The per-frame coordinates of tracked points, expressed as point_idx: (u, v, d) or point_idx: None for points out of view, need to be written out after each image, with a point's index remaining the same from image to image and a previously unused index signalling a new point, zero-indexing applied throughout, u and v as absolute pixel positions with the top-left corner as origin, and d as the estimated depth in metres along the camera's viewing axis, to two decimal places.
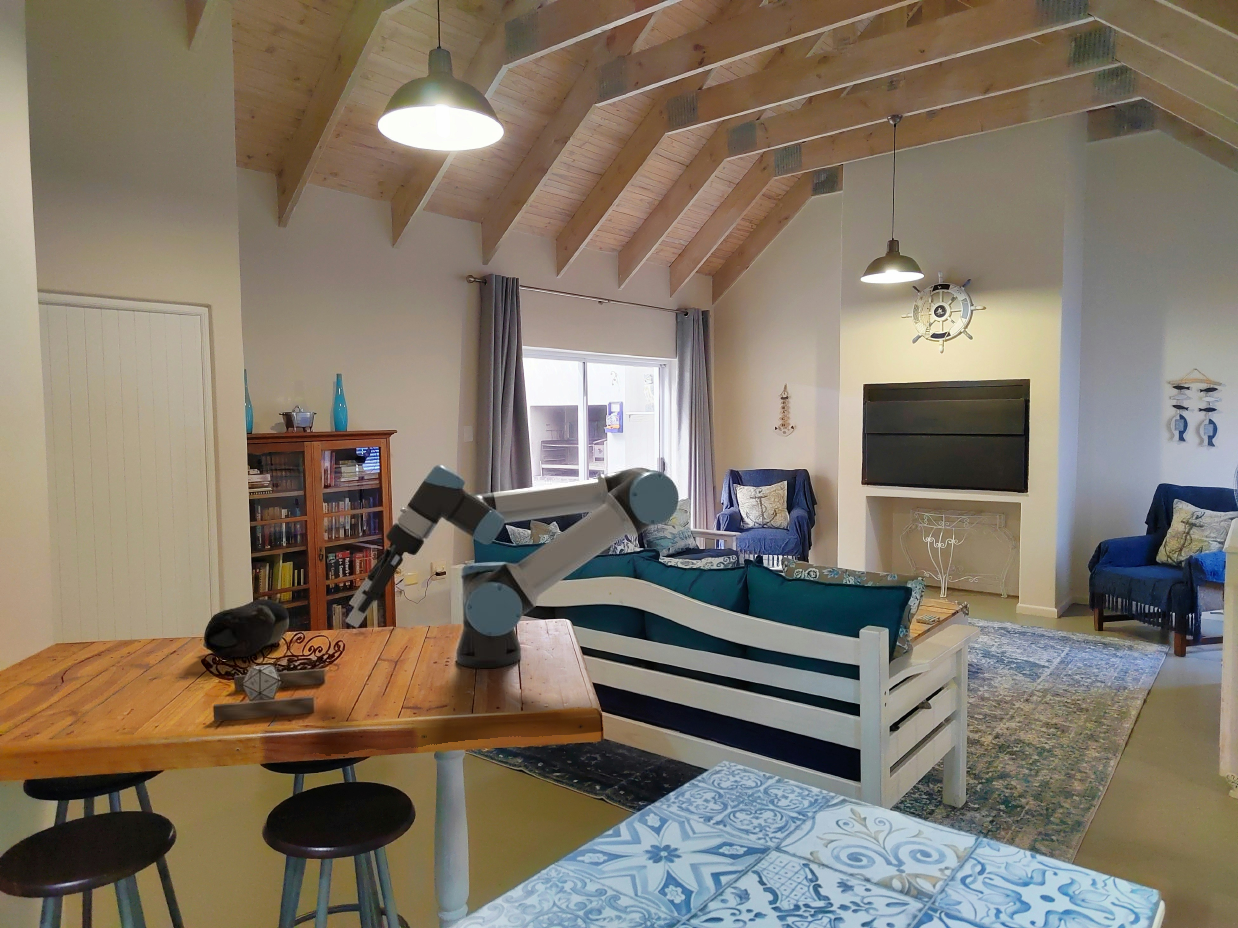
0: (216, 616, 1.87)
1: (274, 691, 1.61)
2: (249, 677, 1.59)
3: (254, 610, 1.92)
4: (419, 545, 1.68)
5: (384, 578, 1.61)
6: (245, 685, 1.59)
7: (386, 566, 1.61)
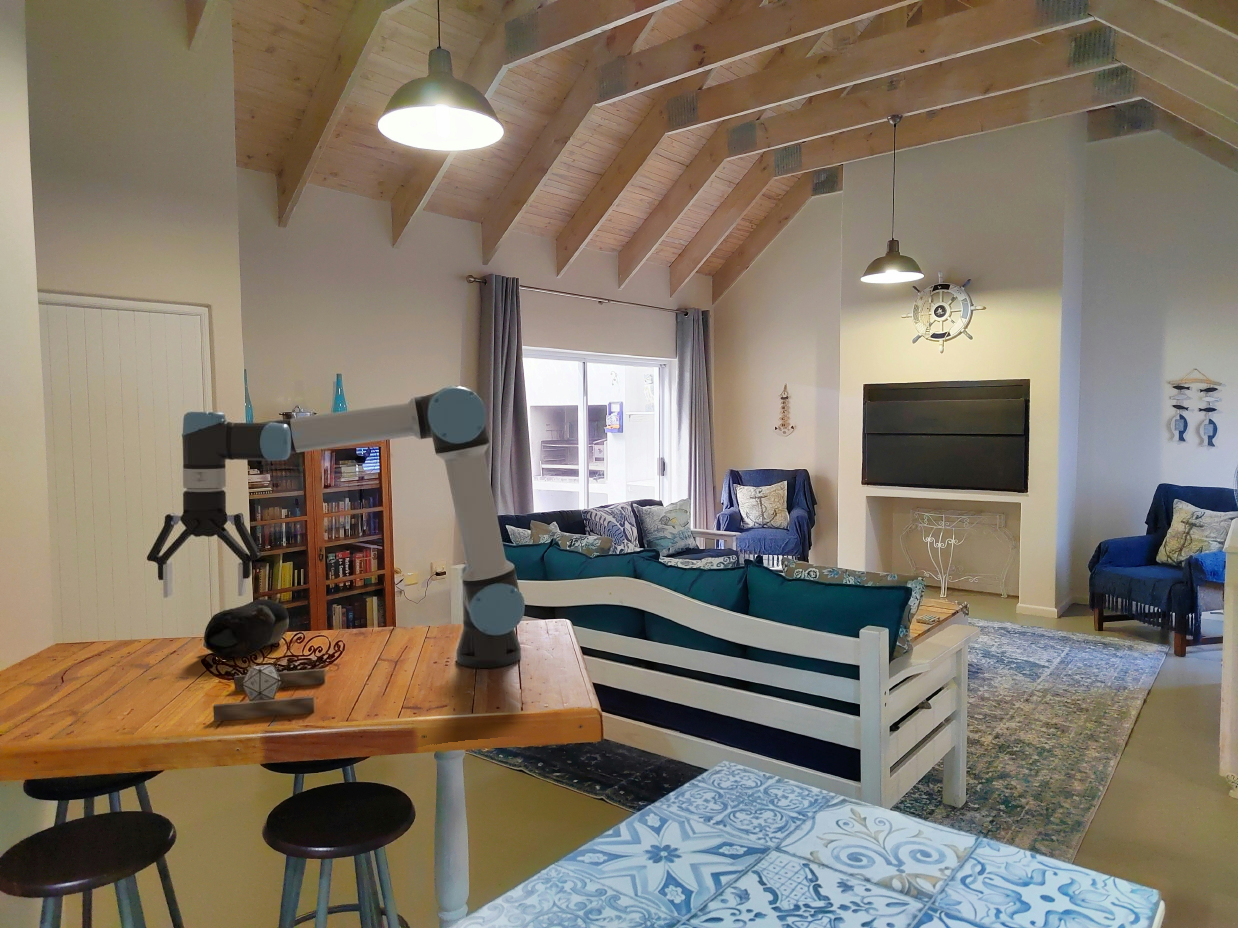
0: (216, 616, 1.87)
1: (274, 691, 1.61)
2: (249, 677, 1.59)
3: (254, 610, 1.92)
4: None
5: (250, 538, 1.60)
6: (245, 685, 1.59)
7: (243, 528, 1.58)
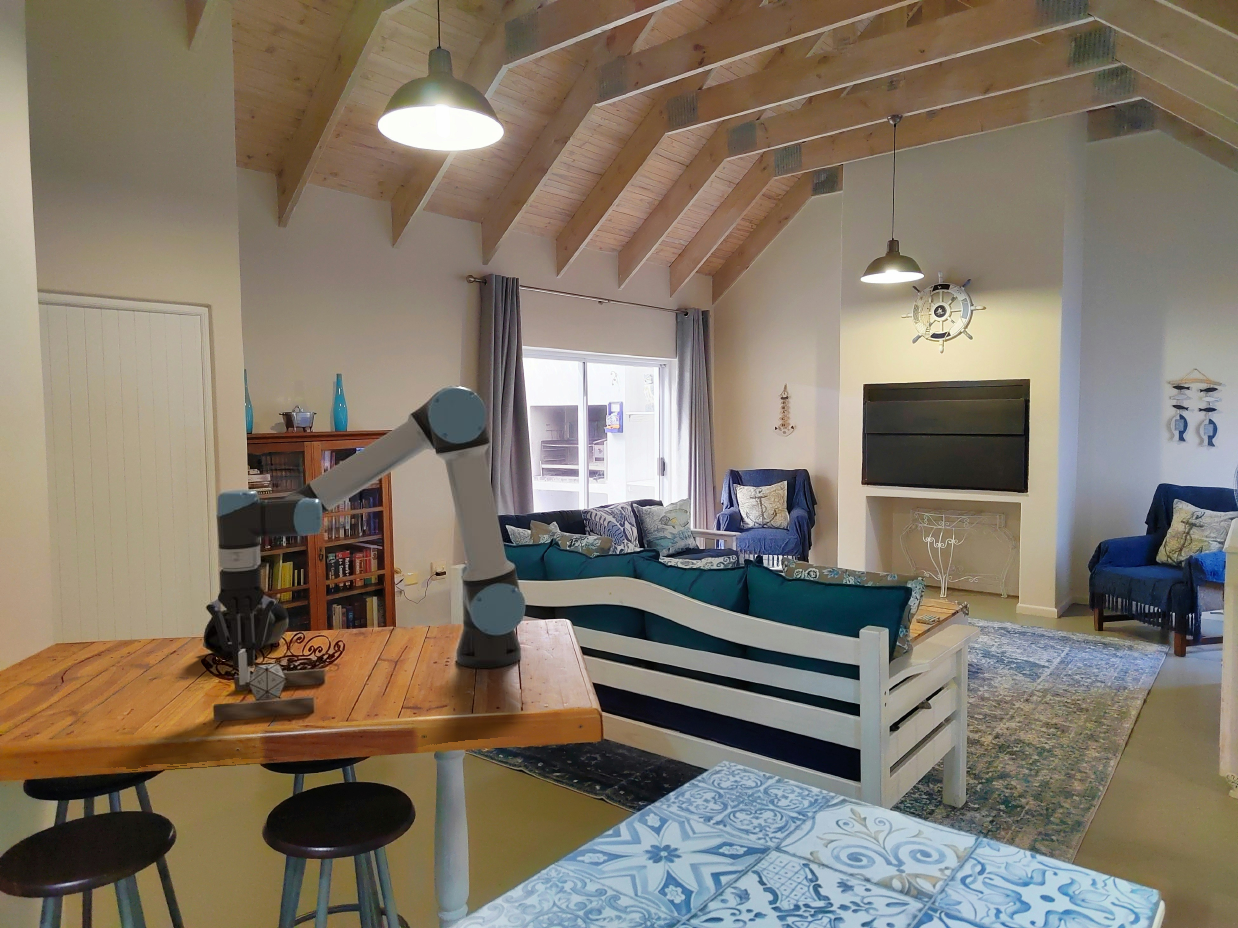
0: None
1: (280, 690, 1.62)
2: (255, 676, 1.60)
3: (254, 610, 1.92)
4: None
5: (267, 625, 1.61)
6: (252, 684, 1.59)
7: (268, 615, 1.60)
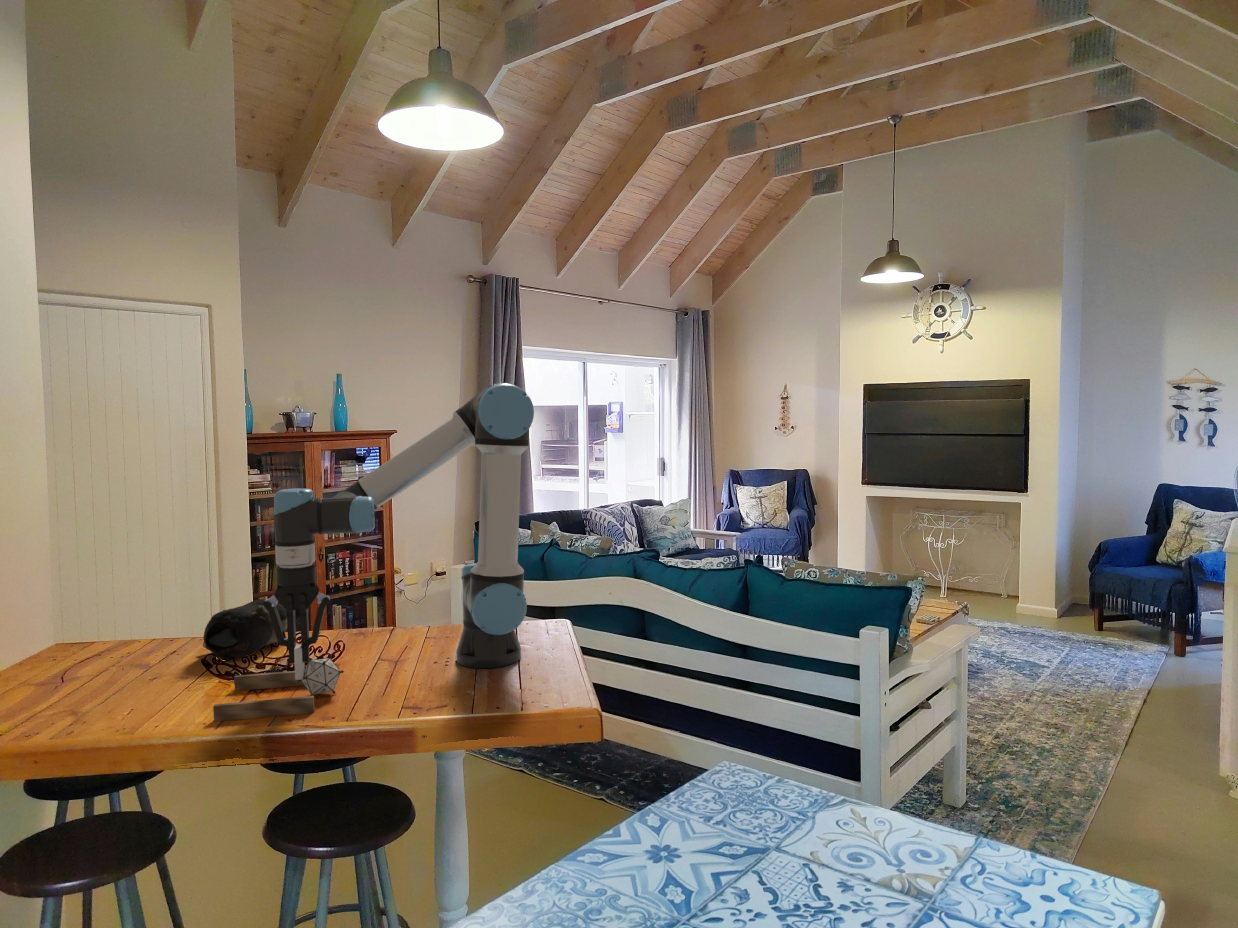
0: (216, 616, 1.88)
1: (335, 683, 1.65)
2: (312, 670, 1.63)
3: (254, 610, 1.92)
4: None
5: (321, 621, 1.64)
6: (309, 678, 1.62)
7: (323, 611, 1.63)
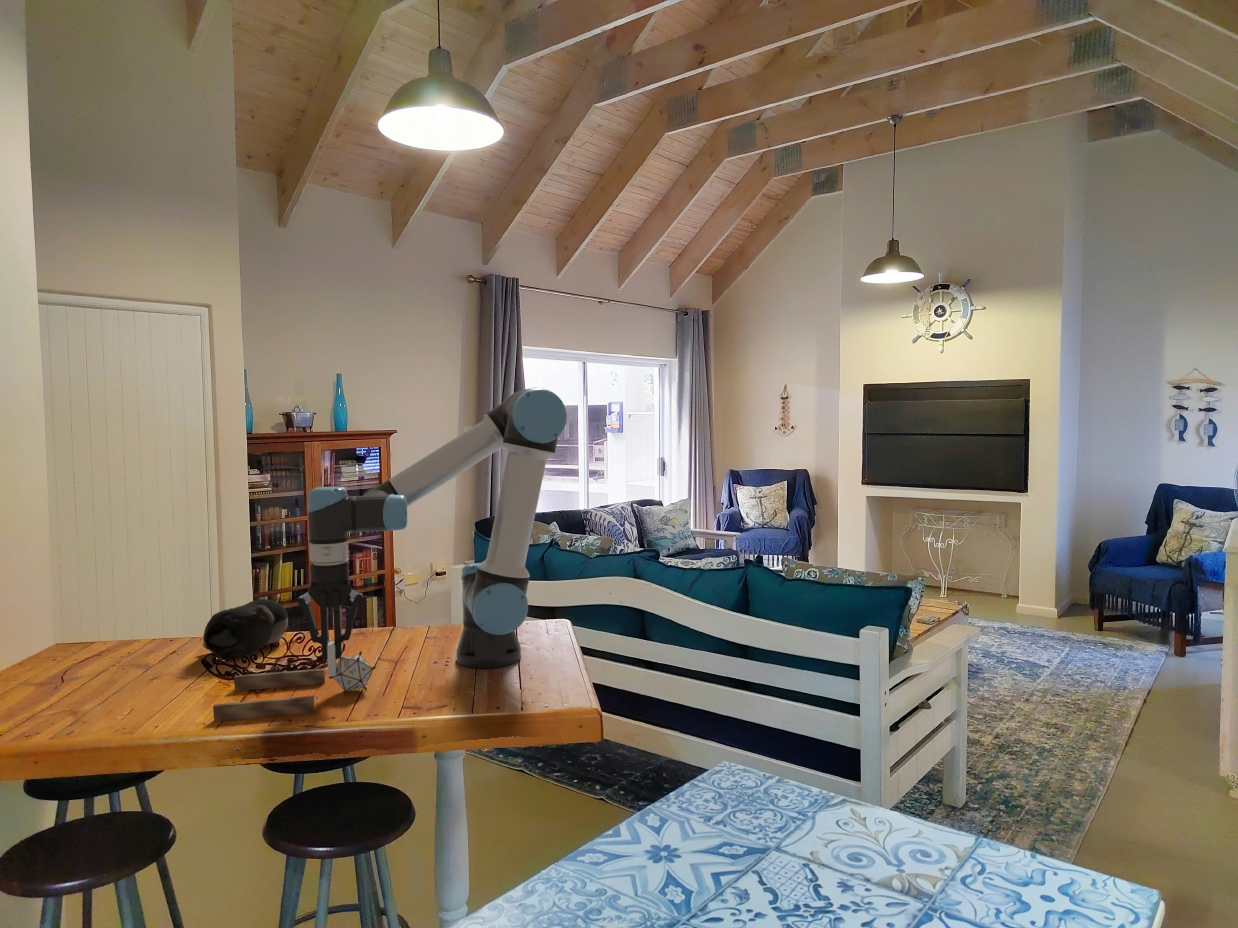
0: (216, 616, 1.88)
1: (367, 679, 1.68)
2: (346, 667, 1.64)
3: (254, 610, 1.92)
4: None
5: None
6: (344, 674, 1.64)
7: (356, 608, 1.64)
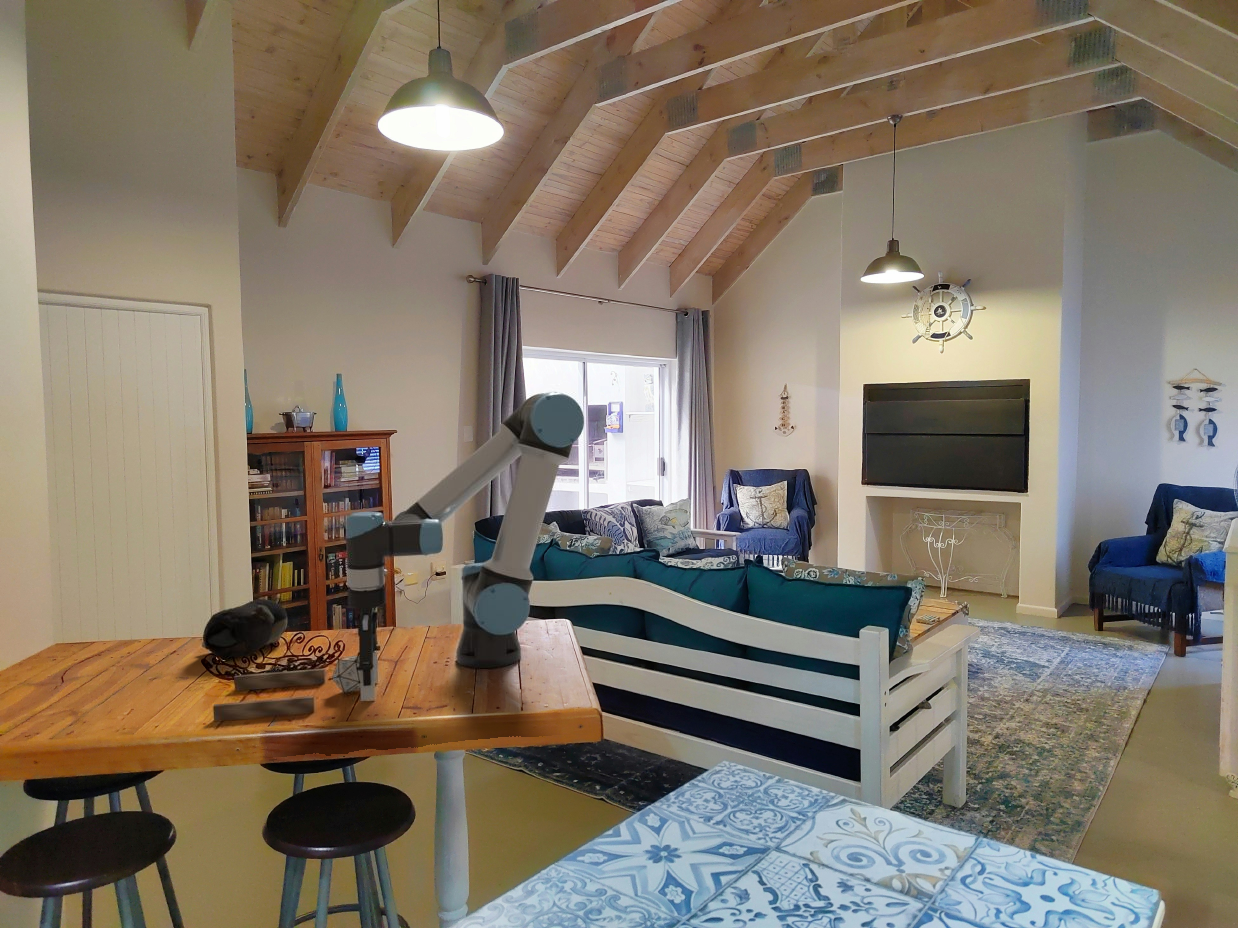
0: (216, 616, 1.88)
1: None
2: (344, 668, 1.64)
3: (253, 610, 1.92)
4: None
5: None
6: (342, 676, 1.63)
7: None
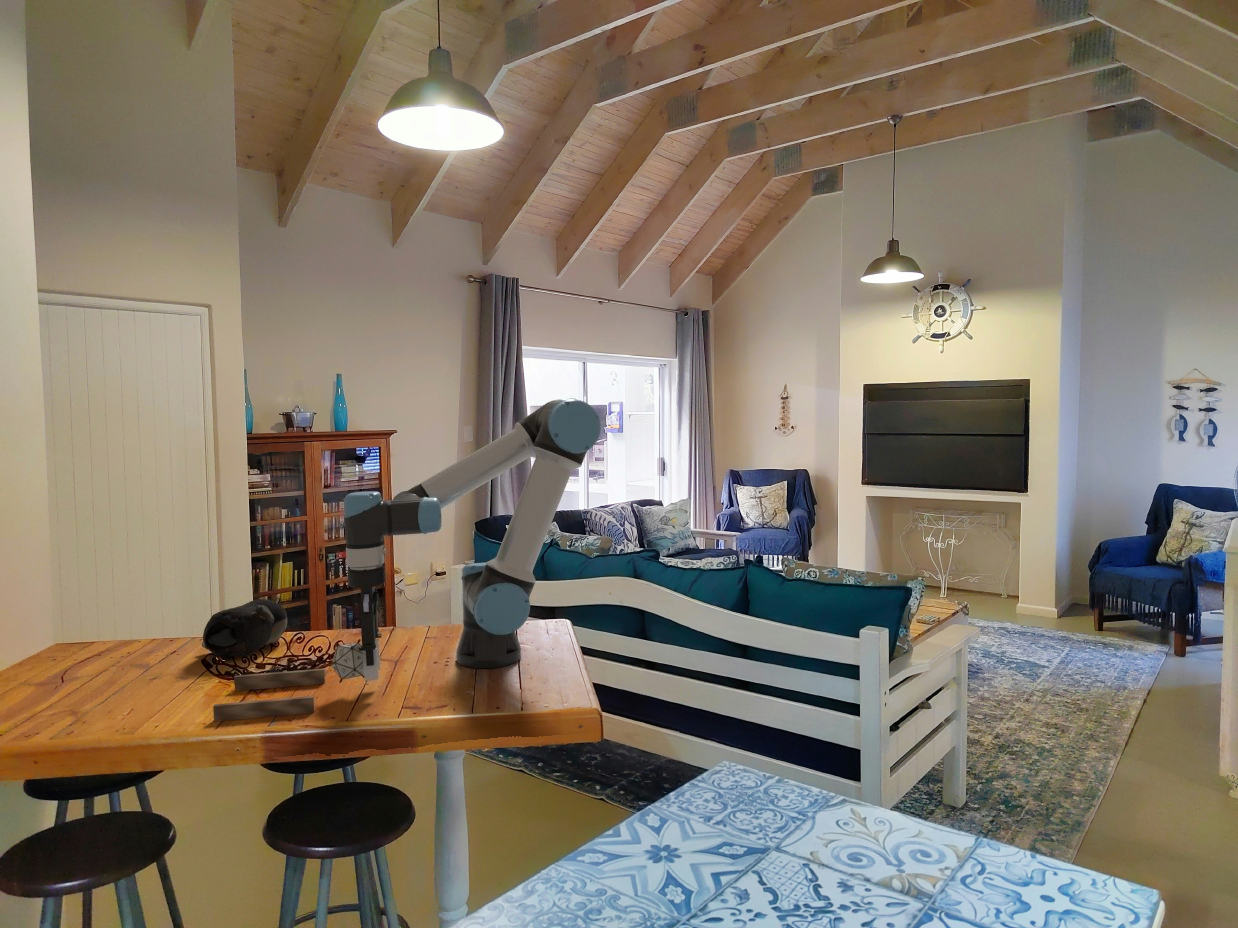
0: (216, 616, 1.88)
1: None
2: (341, 655, 1.62)
3: (253, 610, 1.92)
4: None
5: None
6: (338, 663, 1.62)
7: None
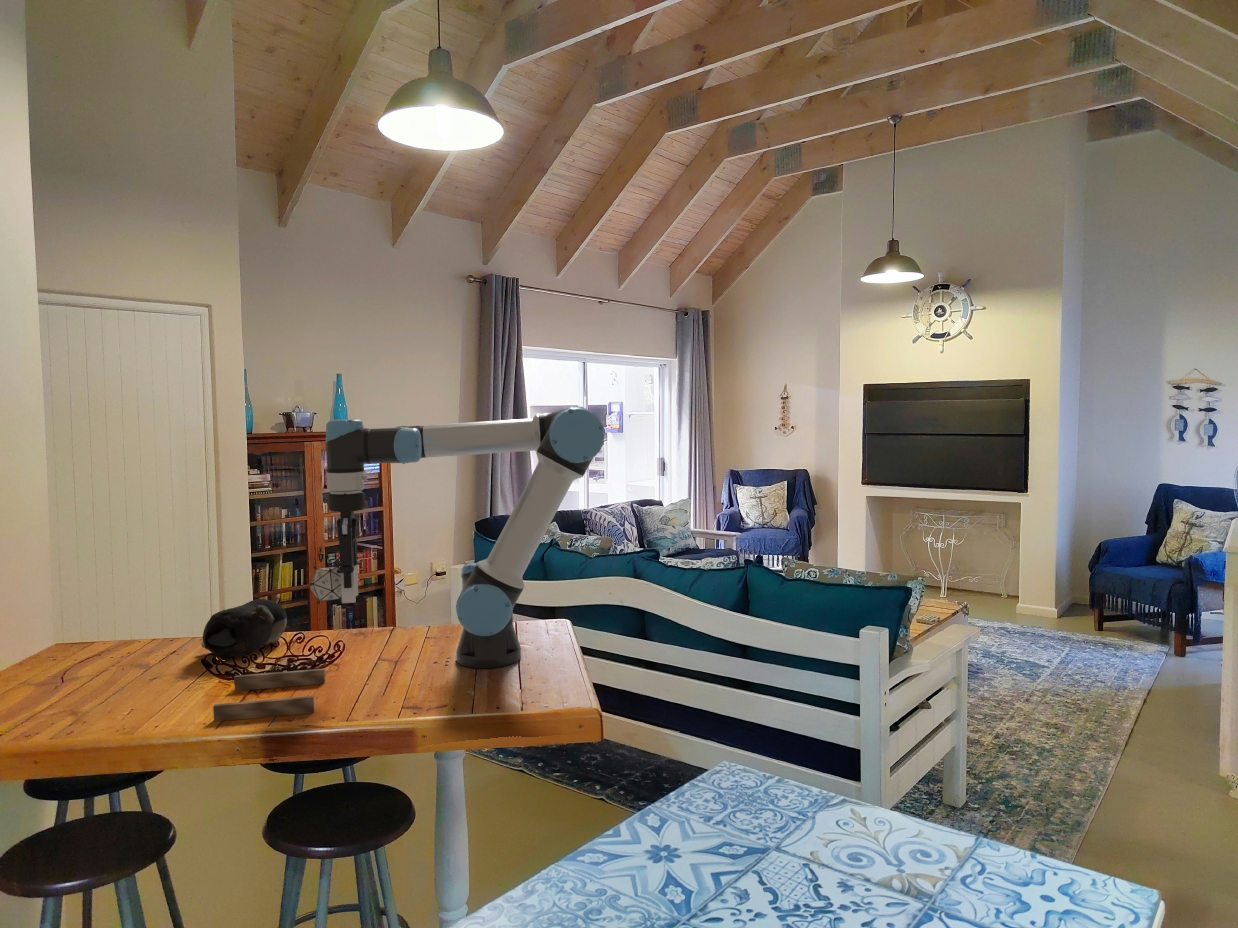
0: (216, 616, 1.88)
1: None
2: (319, 577, 1.66)
3: (253, 610, 1.92)
4: None
5: None
6: (316, 584, 1.65)
7: None
